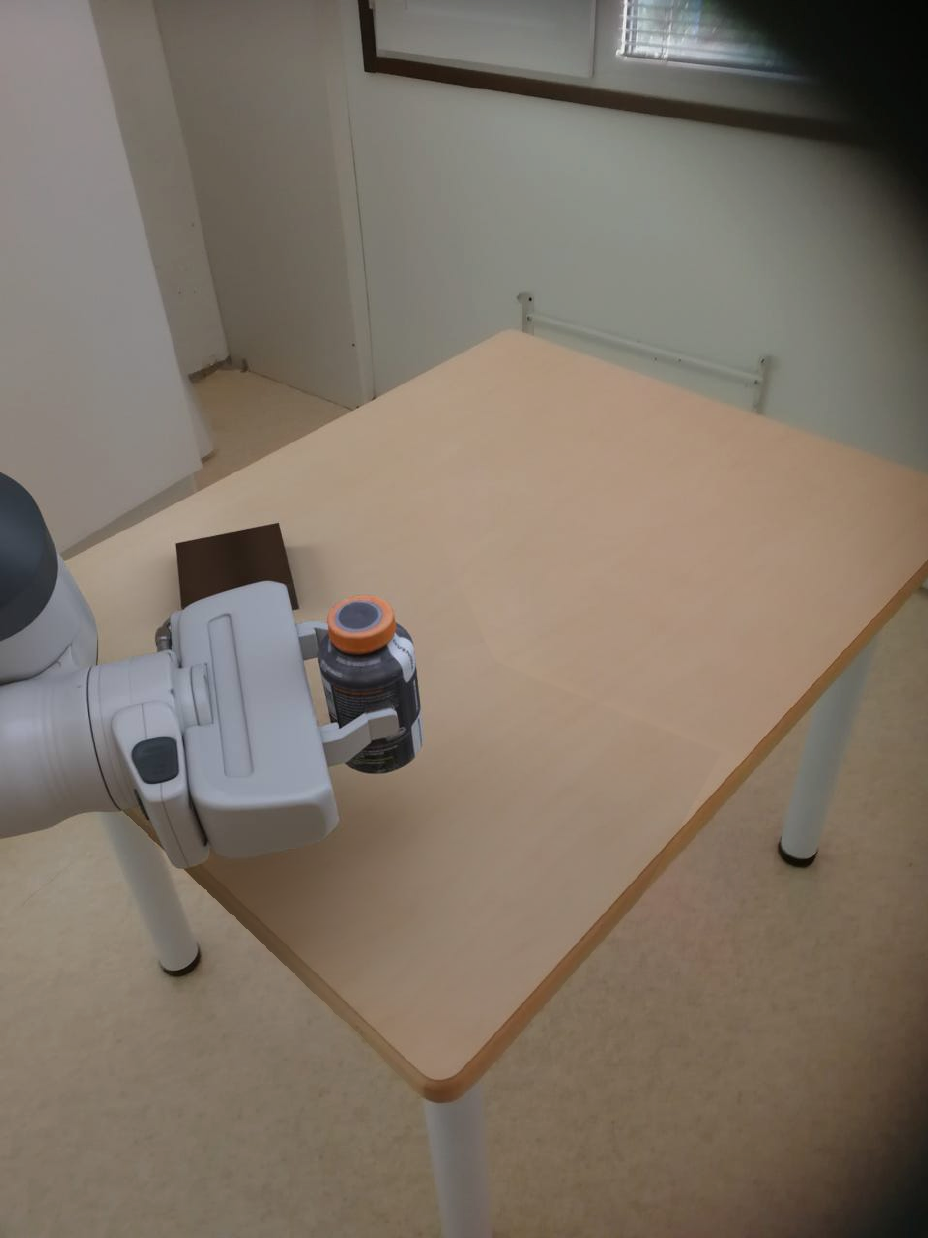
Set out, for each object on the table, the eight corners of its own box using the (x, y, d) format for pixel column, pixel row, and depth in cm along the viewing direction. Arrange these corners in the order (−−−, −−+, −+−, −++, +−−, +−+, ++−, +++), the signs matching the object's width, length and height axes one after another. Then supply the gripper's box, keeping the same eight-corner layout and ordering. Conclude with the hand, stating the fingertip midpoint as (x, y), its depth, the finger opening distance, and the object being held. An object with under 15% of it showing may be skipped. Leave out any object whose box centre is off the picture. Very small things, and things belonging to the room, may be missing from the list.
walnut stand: (189, 632, 86) (181, 607, 84) (182, 567, 93) (175, 543, 91) (299, 608, 88) (293, 583, 86) (284, 547, 95) (278, 522, 93)
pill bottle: (441, 731, 64) (430, 602, 57) (389, 791, 61) (370, 661, 53) (371, 699, 67) (351, 571, 59) (317, 754, 63) (289, 626, 56)
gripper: (165, 652, 67) (358, 611, 70) (181, 895, 52) (426, 831, 55) (141, 583, 63) (347, 541, 66) (150, 824, 48) (417, 758, 50)
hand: (383, 675), depth 60 cm, fingers closed on pill bottle, 6 cm apart
